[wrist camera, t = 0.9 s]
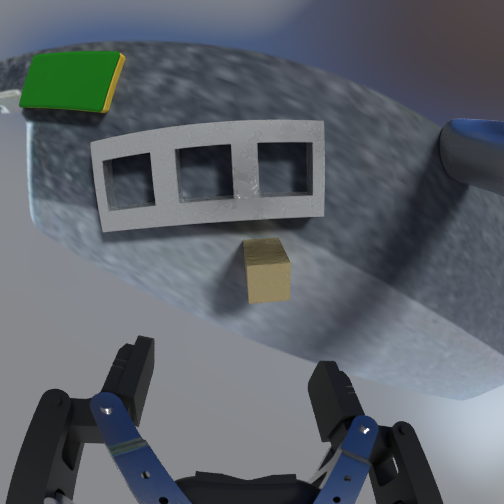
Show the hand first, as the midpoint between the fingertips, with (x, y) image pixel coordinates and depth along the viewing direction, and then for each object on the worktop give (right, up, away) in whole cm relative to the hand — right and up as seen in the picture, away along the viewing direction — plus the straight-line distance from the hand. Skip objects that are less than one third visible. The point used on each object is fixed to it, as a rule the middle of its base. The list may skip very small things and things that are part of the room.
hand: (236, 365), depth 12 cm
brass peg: (+2, +5, +20) cm, 21 cm away
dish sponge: (-21, +26, +10) cm, 35 cm away
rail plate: (-4, +14, +16) cm, 21 cm away
